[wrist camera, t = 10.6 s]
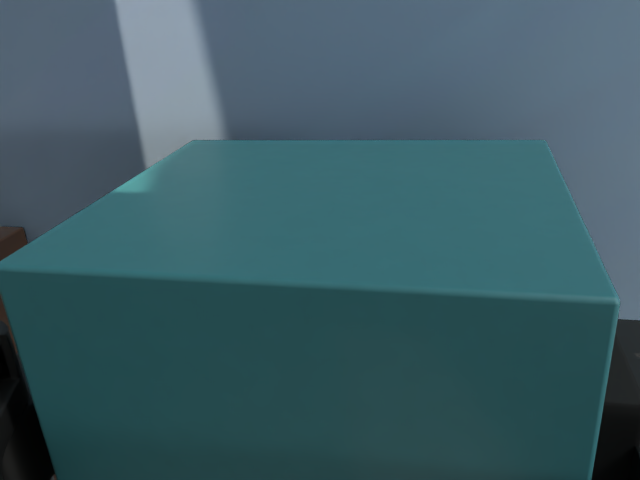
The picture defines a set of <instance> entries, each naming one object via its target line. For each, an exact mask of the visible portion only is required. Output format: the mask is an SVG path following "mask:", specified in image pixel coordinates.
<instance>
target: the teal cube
mask: <svg viewBox="0 0 640 480" xmlns="http://www.w3.org/2000/svg"><path fill="white" fill-rule="evenodd" d="M0 296H1V299H2V302H3V305H4V309H5V312H6V315H7V318H8V322H9V325H10V328H11V332H12V335H13V338H14V341H15V345H16V348H17V351H18V354H19V358H20V361H21V364H22V368H23V371H24V374H25V377H26V381H27V384H28V387H29V390H30V394H31V397H32V400H33V403H34V407H35V410H36V413H37V417H38V420H39V423H40V426H41V430H42V433H43V436H44V439H45V443H46V446H47V449H48V453H49V456H50V459H51V462H52V466H53V469H54V472H55V475H56V479H57V480H592V473H593V467H594V461H595V455H596V449H597V443H598V437H599V431H600V425H601V418H602V412H603V406H604V400H605V394H606V388H607V382H608V376H609V369H610V363H611V357H612V351H613V345H614V339H615V333H616V327H617V321H618V314H619V308H620V300H619V297H618V295H617V293H616V291H615V288H614V286H613V284H612V282H611V280H610V278H609V275H608V273H607V271H606V269H605V267H604V265H603V263H602V260H601V258H600V256H599V254H598V252H597V250H596V248H595V245H594V243H593V241H592V239H591V237H590V235H589V232H588V230H587V228H586V226H585V224H584V222H583V220H582V217H581V215H580V213H579V211H578V209H577V207H576V204H575V202H574V200H573V198H572V196H571V194H570V192H569V189H568V187H567V185H566V183H565V181H564V179H563V176H562V174H561V172H560V170H559V168H558V166H557V164H556V161H555V159H554V157H553V155H552V153H551V151H550V148H549V146H548V144H547V142H546V141H544V140H193V141H191V142H190V143H188V144H186V145H185V146H183V147H182V148H180V149H178V150H177V151H175V152H174V153H172V154H170V155H169V156H167V157H166V158H164V159H162V160H161V161H159V162H158V163H156V164H154V165H153V166H151V167H150V168H148V169H147V170H145V171H143V172H142V173H140V174H139V175H137V176H135V177H134V178H132V179H131V180H129V181H127V182H126V183H124V184H123V185H121V186H119V187H118V188H116V189H115V190H113V191H111V192H110V193H108V194H107V195H105V196H103V197H102V198H100V199H99V200H97V201H95V202H94V203H92V204H91V205H89V206H87V207H86V208H84V209H83V210H81V211H79V212H78V213H76V214H75V215H73V216H72V217H70V218H68V219H67V220H65V221H64V222H62V223H60V224H59V225H57V226H56V227H54V228H52V229H51V230H49V231H48V232H46V233H44V234H43V235H41V236H40V237H38V238H36V239H35V240H33V241H32V242H30V243H28V244H27V245H25V246H24V247H22V248H20V249H19V250H17V251H16V252H14V253H12V254H11V255H9V256H8V257H6V258H4V259H3V260H1V261H0Z"/></svg>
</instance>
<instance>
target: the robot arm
mask: <svg viewBox="0 0 640 480" xmlns="http://www.w3.org/2000/svg"><path fill="white" fill-rule="evenodd" d="M54 474H55V472H54V469H53V466H52V462H51V459H50V456H49V453H48V449H47V446H46V443H45V439H44V436H43V433H42V430H41V426H40V423H39V420H38V417H37V413H36V410H35V407H34V403H33V400H32V397H31V394H30V390H29V387H28V384H27V381H26V377H25V374H24V371H23V368H22V364H21V361H20V358H19V354H18V353H17V354H16V352H15V348H14V345H13V342H12V339H11V335H10V332H9V329H8V326H7V325H6V324H5V323H4V322H3V321H1V320H0V480H55V479H54ZM592 480H640V321H639V320H621V319H618V321H617V327H616V333H615V339H614V345H613V351H612V357H611V363H610V369H609V376H608V382H607V388H606V394H605V400H604V406H603V412H602V418H601V425H600V431H599V437H598V443H597V449H596V455H595V461H594V467H593V473H592Z"/></svg>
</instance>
